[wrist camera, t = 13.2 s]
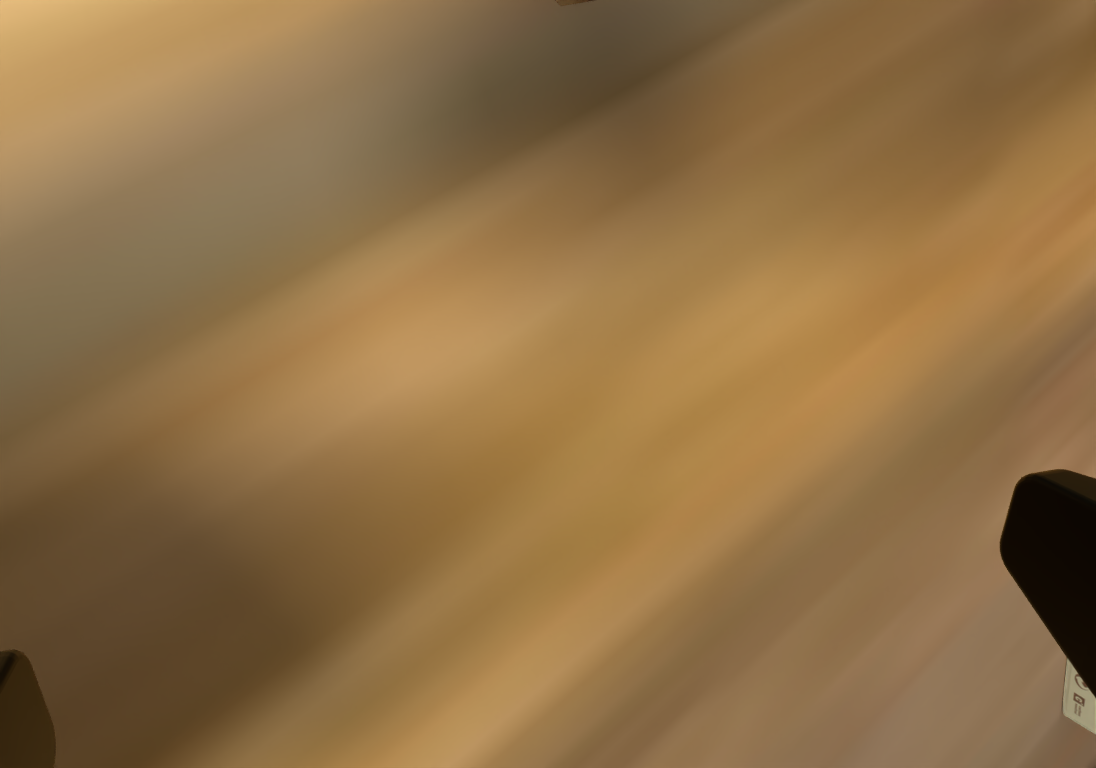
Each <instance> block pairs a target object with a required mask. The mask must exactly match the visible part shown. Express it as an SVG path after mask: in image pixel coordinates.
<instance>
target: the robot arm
mask: <svg viewBox="0 0 1096 768" xmlns="http://www.w3.org/2000/svg"><path fill="white" fill-rule="evenodd" d="M1000 553H1001V557H1002V560H1003V562H1004V565H1005V567H1006V568H1007V570H1008V571H1009V573H1010V574H1011V576H1012V577H1013V579H1014V580H1015V582H1016V583H1017V585H1018V586H1019V588H1020V589H1021V590H1022V592H1023V593H1024V595H1025V596H1026V598H1027V599H1028V601H1029V602H1030V604H1031V605H1032V607H1033V608H1034V610H1035V611H1036V613H1037V614H1038V615H1039V617H1040V618H1041V620H1042V621H1043V623H1044V624H1045V626H1046V627H1047V629H1048V630H1049V632H1050V633H1051V635H1052V636H1053V638H1054V639H1055V640H1056V642H1057V643H1058V645H1059V646H1060V648H1061V649H1062V651H1063V652H1064V654H1065V655H1066V657H1067V658H1068V660H1069V661H1070V663H1071V664H1072V665H1073V667H1074V668H1075V670H1076V671H1077V673H1078V674H1079V676H1080V677H1081V679H1082V680H1083V681H1084V683H1085V684H1086V686H1087V687H1088V688H1089V690H1090V691H1091V693H1092V694H1093V695H1094V697H1095V698H1096V479H1095V478H1092V477H1089V476H1086V475H1082V474H1079V473H1076V472H1073V471H1069V470H1064V469H1055V470H1049V471H1043V472H1037V473H1031V474H1028V475H1025V476H1024V477H1022V478H1021V479H1020V480H1019V481H1018V482H1017V484H1016V486H1015V488H1014V491H1013V495H1012V498H1011V502H1010V506H1009V509H1008V513H1007V517H1006V520H1005V524H1004V527H1003V531H1002V535H1001V538H1000ZM55 753H56V742H55V732H54V727H53V723H52V720H51V717H50V715H49V712H48V709H47V706H46V704H45V701H44V698H43V695H42V693H41V690H40V687H39V684H38V682H37V679H36V676H35V674H34V671H33V668H32V665H31V663H30V661H29V659H28V658H27V657H26V656H25V654H24V653H22V652H20V651H17V650H8V651H2V652H0V768H54V763H55Z"/></svg>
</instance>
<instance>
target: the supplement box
mask: <svg viewBox="0 0 1096 768" xmlns="http://www.w3.org/2000/svg"><path fill="white" fill-rule="evenodd" d="M1063 714H1064V715H1065V716H1067V717H1068V718H1070V719H1071V720H1073V721H1075V722H1076V723H1078V724H1080V725H1081V726H1083V727H1084V728H1086V729H1088V730H1089V731H1091V732H1093V733H1094V734H1096V698H1095V697H1094V695H1093V694H1092V693H1091V691H1090V690H1089V688H1088V687H1087V686H1086V684H1085V683H1084V681H1083V680H1082V679H1081V677H1080V676H1079V674H1078V673H1077V671H1076V670H1075V668H1074V667H1073V665H1072V664H1071V663H1070V661H1069V660H1068V658H1067V665H1066V674H1065V684H1064V694H1063Z"/></svg>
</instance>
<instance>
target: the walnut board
mask: <svg viewBox="0 0 1096 768" xmlns="http://www.w3.org/2000/svg"><path fill="white" fill-rule="evenodd" d="M556 1H557V3H558V4H559V5H560V6H564V5H570V4H576V3H582V2H588V1H593V0H556Z"/></svg>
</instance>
